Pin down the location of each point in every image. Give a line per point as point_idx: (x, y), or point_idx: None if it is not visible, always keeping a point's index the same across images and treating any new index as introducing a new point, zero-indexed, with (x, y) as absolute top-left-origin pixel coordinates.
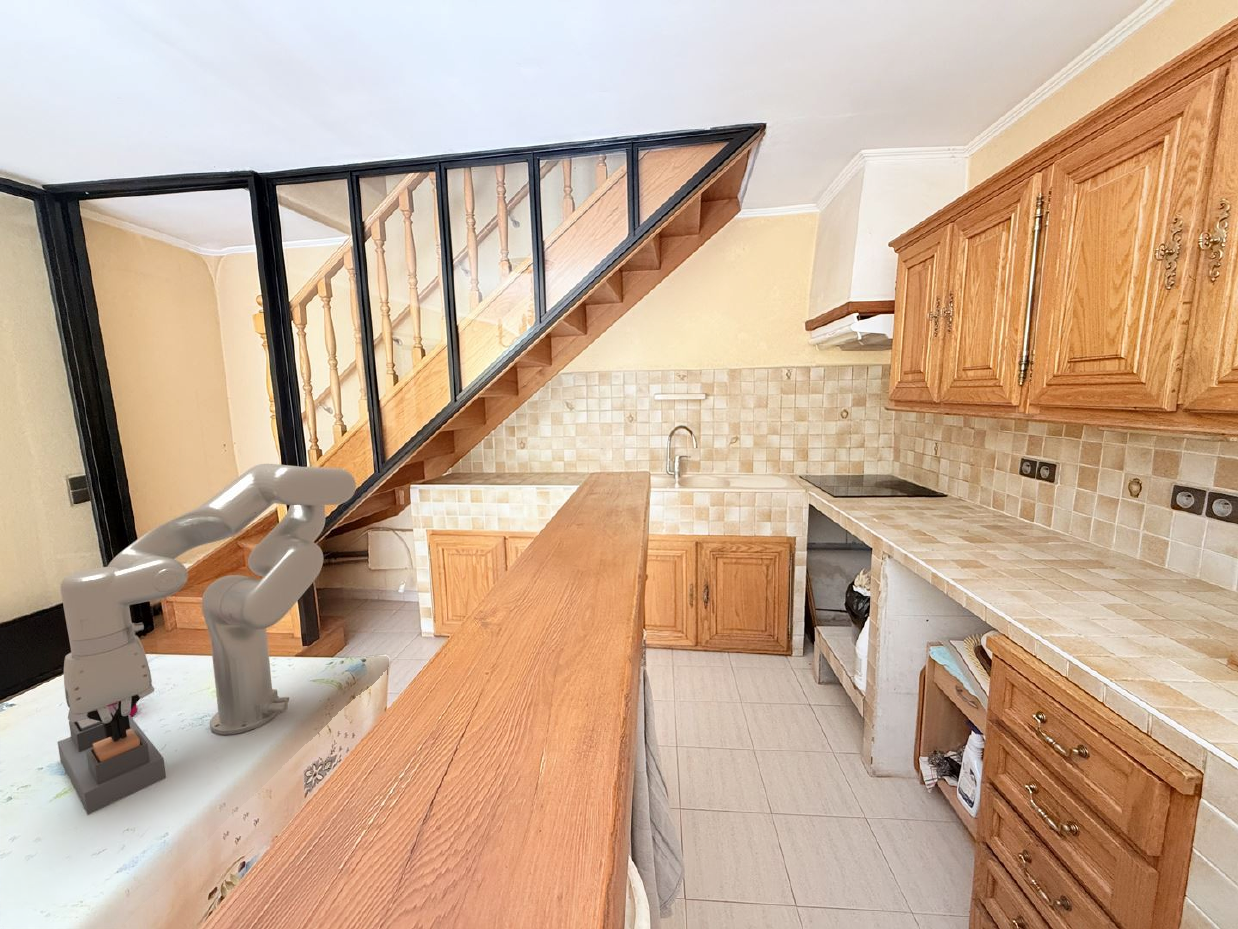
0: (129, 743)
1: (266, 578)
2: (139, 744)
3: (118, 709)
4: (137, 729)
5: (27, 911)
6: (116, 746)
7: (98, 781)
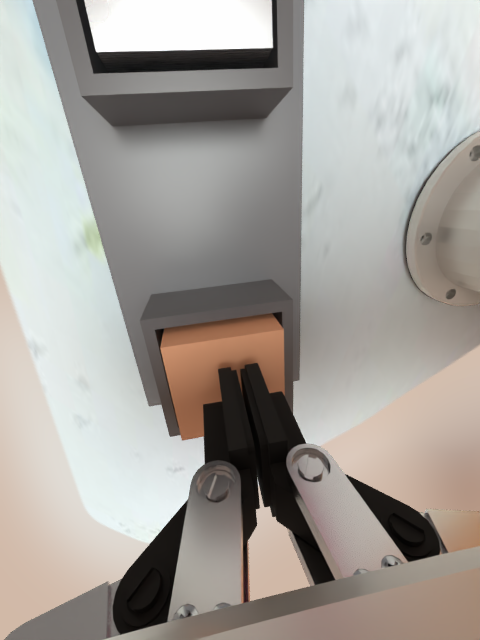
0: None
1: None
2: None
3: (290, 504)
4: (294, 125)
5: (104, 517)
6: None
7: None
